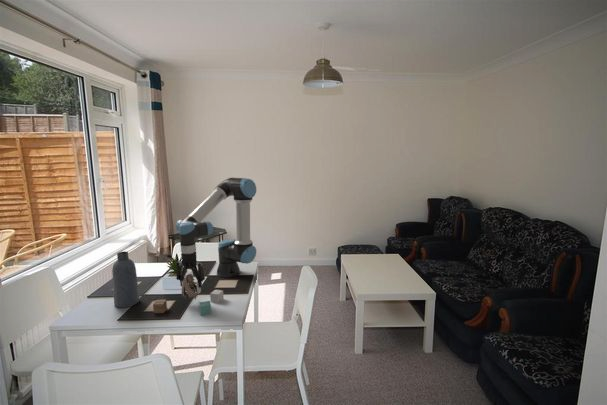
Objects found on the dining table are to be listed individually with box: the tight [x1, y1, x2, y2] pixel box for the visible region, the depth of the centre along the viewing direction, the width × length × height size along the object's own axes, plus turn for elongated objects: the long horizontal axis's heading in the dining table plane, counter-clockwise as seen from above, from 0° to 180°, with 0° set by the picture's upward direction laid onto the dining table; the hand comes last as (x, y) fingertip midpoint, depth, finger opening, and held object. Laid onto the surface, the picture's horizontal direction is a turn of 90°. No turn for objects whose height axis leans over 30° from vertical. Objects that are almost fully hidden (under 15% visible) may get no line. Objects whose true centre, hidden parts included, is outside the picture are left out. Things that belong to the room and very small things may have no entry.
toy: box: [181, 273, 201, 300], centre depth 174 cm, size 9×8×15 cm
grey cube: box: [209, 289, 224, 304], centre depth 180 cm, size 5×5×5 cm
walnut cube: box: [152, 299, 168, 314], centre depth 168 cm, size 5×5×5 cm
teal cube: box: [199, 300, 212, 317], centre depth 166 cm, size 5×5×5 cm
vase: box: [111, 251, 141, 309], centre depth 175 cm, size 12×12×28 cm
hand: (191, 292), depth 176 cm, fingers closed on toy, 8 cm apart
